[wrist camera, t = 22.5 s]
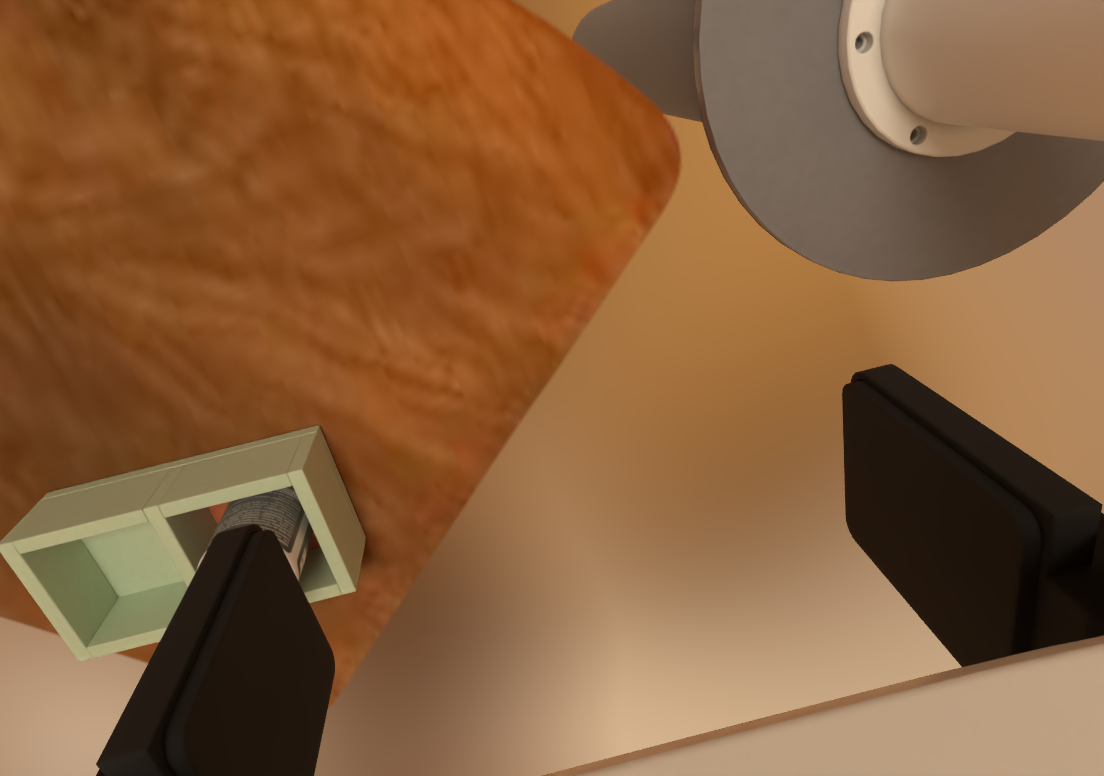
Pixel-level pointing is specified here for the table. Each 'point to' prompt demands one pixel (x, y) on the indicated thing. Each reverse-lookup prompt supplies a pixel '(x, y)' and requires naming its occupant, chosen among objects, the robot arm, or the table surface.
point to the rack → (171, 538)
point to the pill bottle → (273, 522)
